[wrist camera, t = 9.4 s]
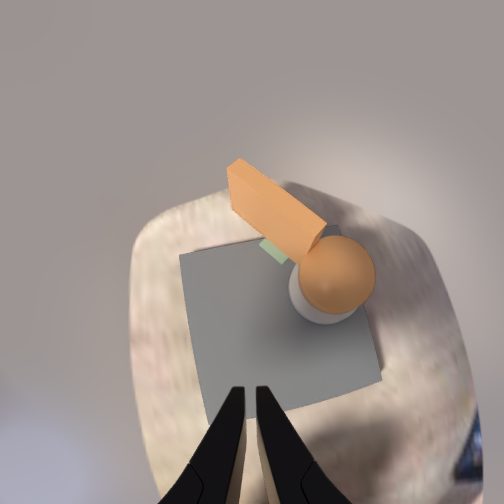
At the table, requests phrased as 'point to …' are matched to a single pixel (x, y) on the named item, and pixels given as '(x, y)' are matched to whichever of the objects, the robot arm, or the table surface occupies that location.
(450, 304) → the table surface
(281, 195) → the lever cap
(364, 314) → the base
